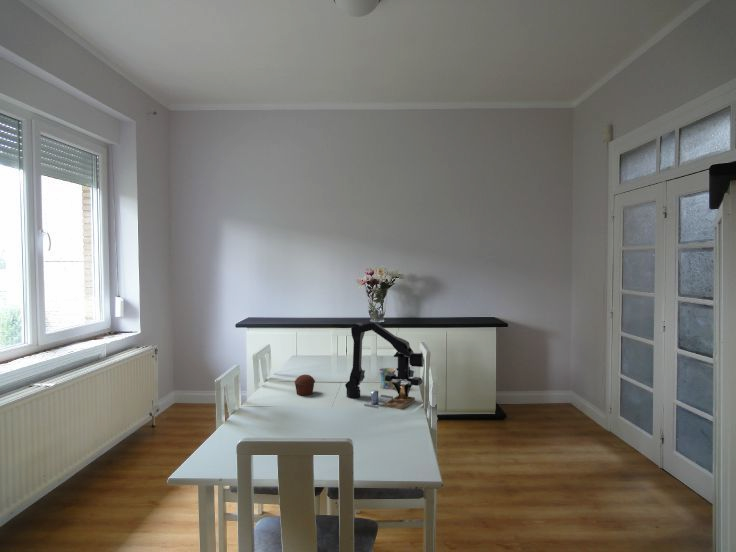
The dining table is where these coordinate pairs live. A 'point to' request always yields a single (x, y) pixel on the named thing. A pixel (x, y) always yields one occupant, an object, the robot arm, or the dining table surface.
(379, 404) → the cradle
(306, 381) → the muffin
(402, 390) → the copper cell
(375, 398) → the cylinder
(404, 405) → the tray
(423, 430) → the dining table surface
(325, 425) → the dining table surface
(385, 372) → the mug
